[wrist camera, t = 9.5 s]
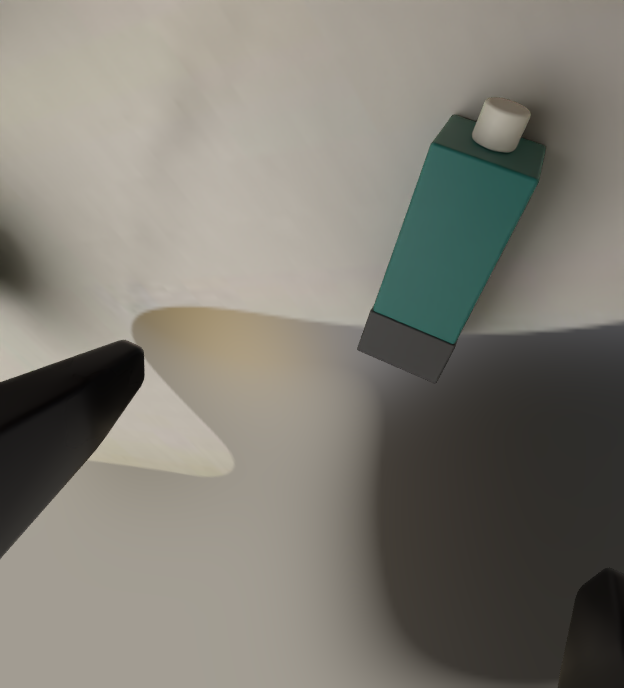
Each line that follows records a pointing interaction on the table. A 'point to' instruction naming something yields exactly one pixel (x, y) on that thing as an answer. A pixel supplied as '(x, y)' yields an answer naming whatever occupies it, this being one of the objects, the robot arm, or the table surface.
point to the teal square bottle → (453, 236)
